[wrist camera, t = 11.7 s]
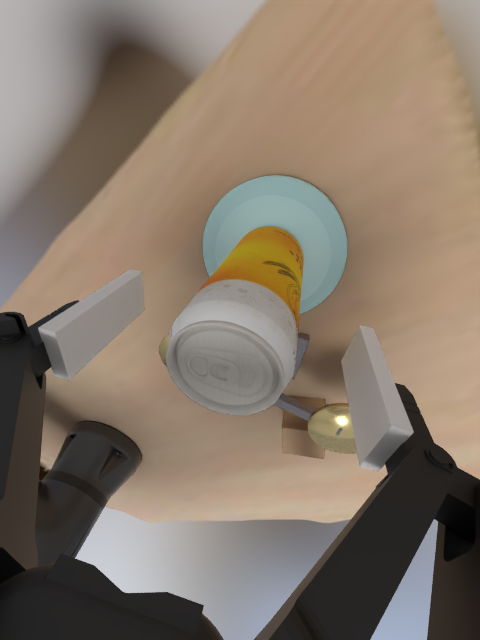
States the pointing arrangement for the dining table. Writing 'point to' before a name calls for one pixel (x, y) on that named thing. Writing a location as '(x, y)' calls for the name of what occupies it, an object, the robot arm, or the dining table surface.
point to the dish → (288, 214)
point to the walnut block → (300, 432)
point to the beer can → (241, 327)
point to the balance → (311, 410)
